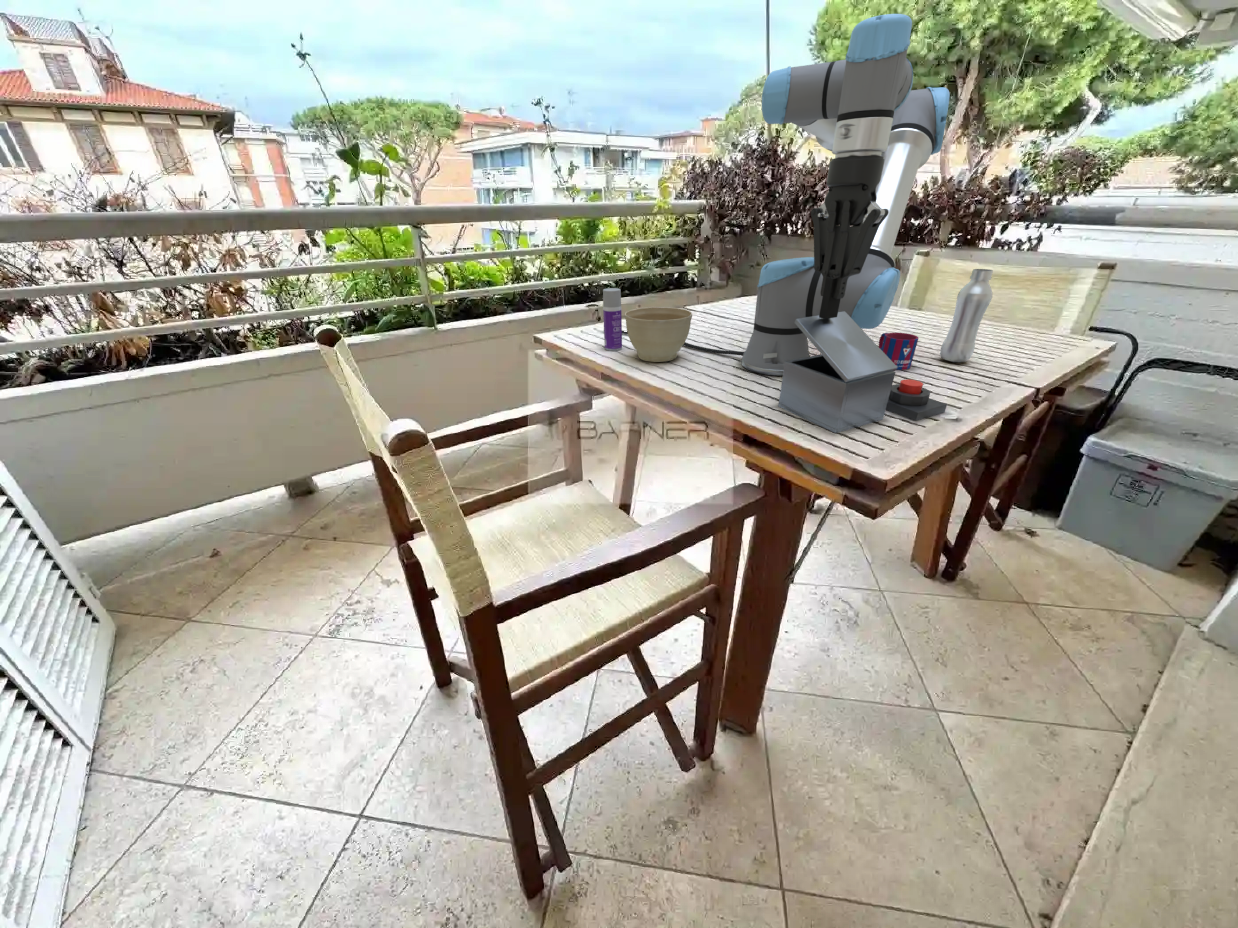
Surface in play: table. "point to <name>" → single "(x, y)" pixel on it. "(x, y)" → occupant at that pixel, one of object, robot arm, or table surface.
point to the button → (910, 386)
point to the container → (612, 319)
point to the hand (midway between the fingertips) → (828, 317)
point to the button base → (913, 404)
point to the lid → (846, 346)
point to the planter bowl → (658, 331)
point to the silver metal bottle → (967, 317)
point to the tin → (832, 395)
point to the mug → (899, 348)
